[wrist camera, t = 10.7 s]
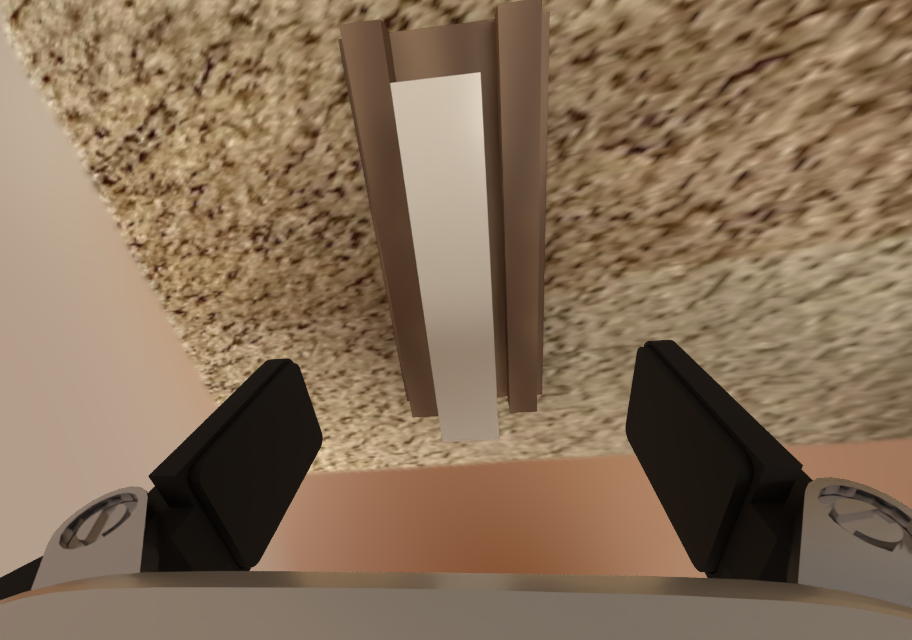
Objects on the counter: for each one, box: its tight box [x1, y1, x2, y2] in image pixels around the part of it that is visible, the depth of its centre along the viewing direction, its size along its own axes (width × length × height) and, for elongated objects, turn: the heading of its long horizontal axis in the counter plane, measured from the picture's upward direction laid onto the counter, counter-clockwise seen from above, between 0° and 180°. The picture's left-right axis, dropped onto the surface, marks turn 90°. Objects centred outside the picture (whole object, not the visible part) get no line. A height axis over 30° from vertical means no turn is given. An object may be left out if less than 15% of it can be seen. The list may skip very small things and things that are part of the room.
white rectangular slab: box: [390, 72, 499, 442], centre depth 19 cm, size 3×16×9 cm, turn 5°
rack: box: [338, 0, 550, 417], centre depth 23 cm, size 11×24×3 cm, turn 5°
